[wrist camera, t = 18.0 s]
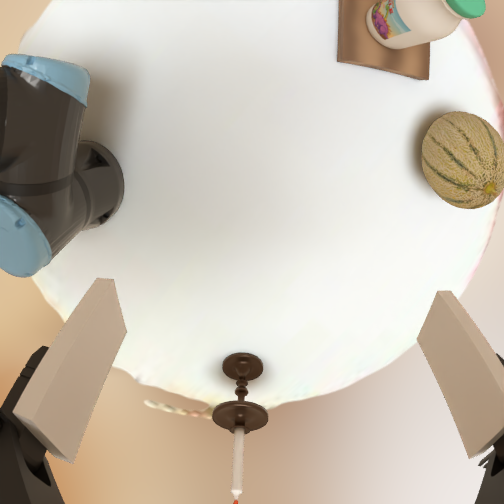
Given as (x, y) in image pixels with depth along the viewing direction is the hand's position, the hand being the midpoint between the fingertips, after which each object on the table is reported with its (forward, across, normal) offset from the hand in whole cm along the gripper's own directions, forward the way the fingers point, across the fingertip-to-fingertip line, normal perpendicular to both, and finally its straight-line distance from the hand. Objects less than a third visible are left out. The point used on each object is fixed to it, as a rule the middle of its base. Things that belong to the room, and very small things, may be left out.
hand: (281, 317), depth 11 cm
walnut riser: (+37, -17, -22) cm, 46 cm away
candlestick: (+37, +2, +46) cm, 59 cm away
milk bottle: (+34, -17, -22) cm, 44 cm away
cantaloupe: (+37, -30, -4) cm, 48 cm away
